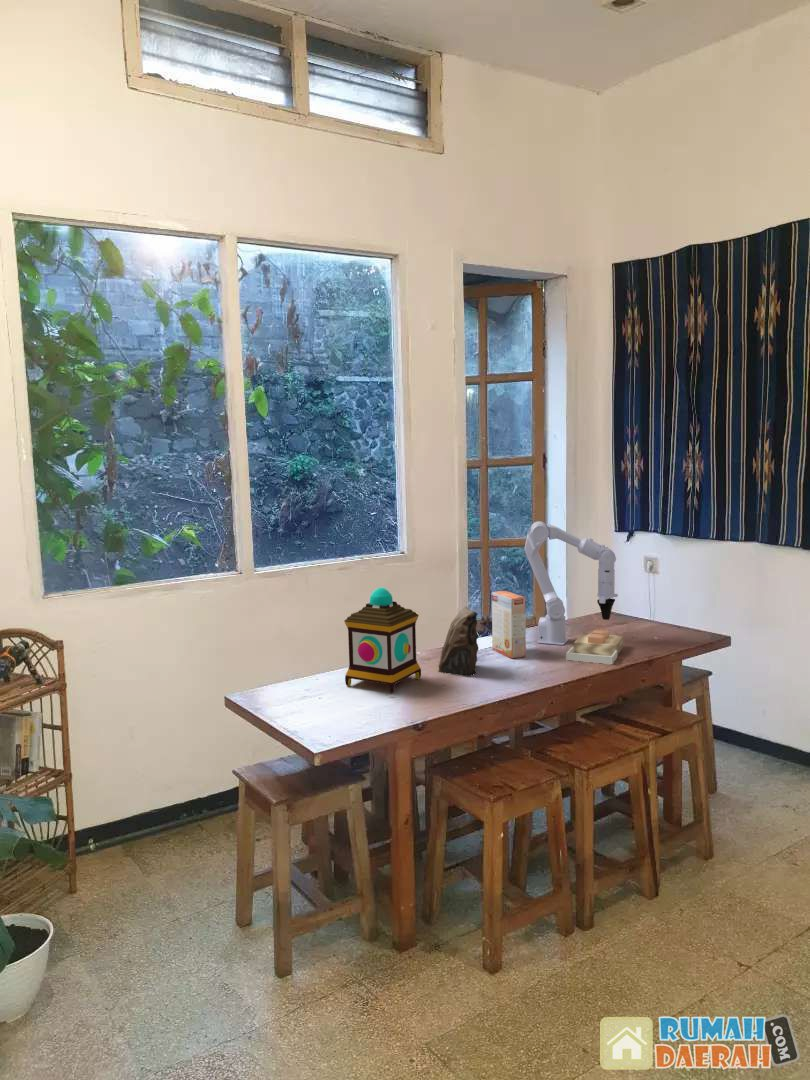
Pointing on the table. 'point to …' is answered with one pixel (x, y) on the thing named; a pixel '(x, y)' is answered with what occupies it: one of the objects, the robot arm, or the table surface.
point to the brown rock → (460, 645)
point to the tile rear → (601, 632)
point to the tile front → (597, 638)
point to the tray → (590, 657)
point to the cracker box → (509, 624)
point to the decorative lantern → (382, 642)
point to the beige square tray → (598, 645)
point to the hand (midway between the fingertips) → (606, 619)
